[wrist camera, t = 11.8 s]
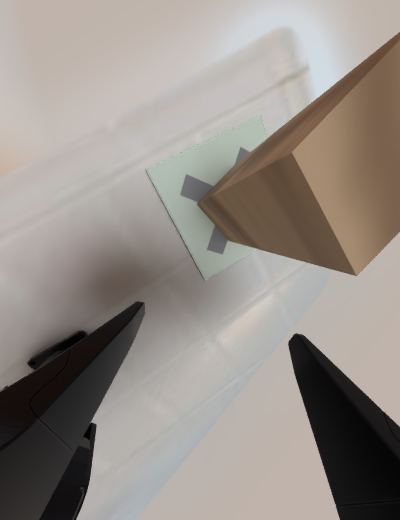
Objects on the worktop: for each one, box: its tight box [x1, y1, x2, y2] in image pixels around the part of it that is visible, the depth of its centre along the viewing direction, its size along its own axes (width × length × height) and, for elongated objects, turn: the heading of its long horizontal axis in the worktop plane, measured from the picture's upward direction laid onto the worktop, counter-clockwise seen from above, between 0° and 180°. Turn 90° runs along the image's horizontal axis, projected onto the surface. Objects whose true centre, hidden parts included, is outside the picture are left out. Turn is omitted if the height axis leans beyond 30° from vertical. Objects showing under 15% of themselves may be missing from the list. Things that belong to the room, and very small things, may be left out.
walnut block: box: [197, 32, 400, 276], centre depth 11 cm, size 6×6×13 cm
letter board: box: [146, 115, 267, 280], centre depth 18 cm, size 14×14×1 cm
